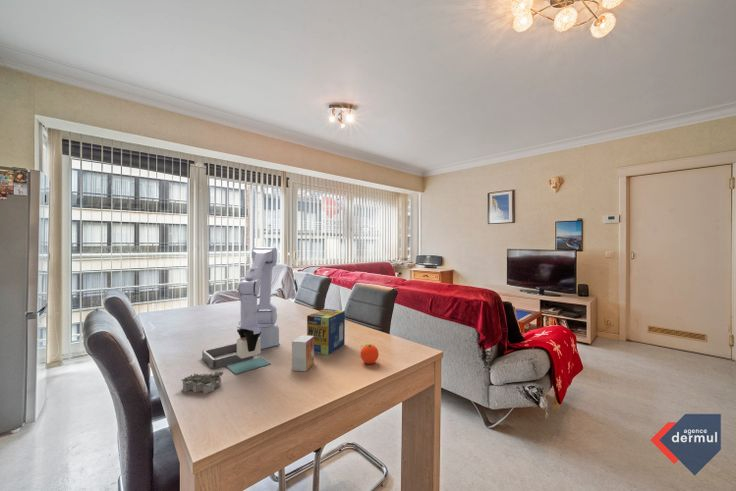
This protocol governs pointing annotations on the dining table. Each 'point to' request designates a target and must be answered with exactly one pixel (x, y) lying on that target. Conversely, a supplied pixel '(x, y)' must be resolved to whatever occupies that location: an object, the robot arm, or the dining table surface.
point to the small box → (302, 353)
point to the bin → (223, 361)
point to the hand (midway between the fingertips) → (248, 349)
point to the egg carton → (198, 380)
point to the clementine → (369, 353)
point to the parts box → (246, 348)
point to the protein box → (327, 330)
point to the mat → (248, 365)
